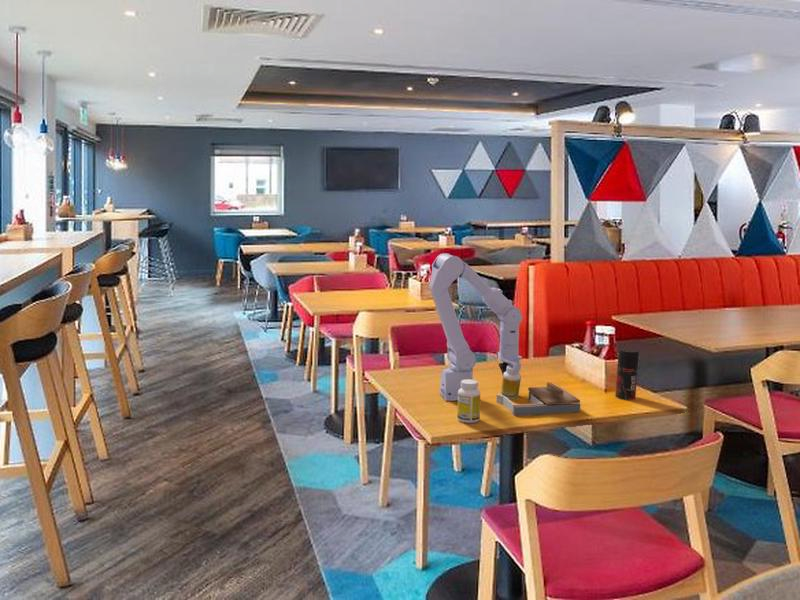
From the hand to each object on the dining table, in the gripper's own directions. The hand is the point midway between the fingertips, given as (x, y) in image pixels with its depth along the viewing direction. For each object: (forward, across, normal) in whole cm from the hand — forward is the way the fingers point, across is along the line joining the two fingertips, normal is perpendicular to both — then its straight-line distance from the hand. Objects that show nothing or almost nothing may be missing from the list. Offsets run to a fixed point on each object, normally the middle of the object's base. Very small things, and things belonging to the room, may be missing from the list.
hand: (508, 385), depth 223 cm
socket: (+3, -14, -4) cm, 14 cm away
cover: (0, -14, -9) cm, 16 cm away
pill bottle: (+2, -22, +20) cm, 30 cm away
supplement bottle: (+2, -2, +1) cm, 4 cm away
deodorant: (+4, -9, -35) cm, 36 cm away
